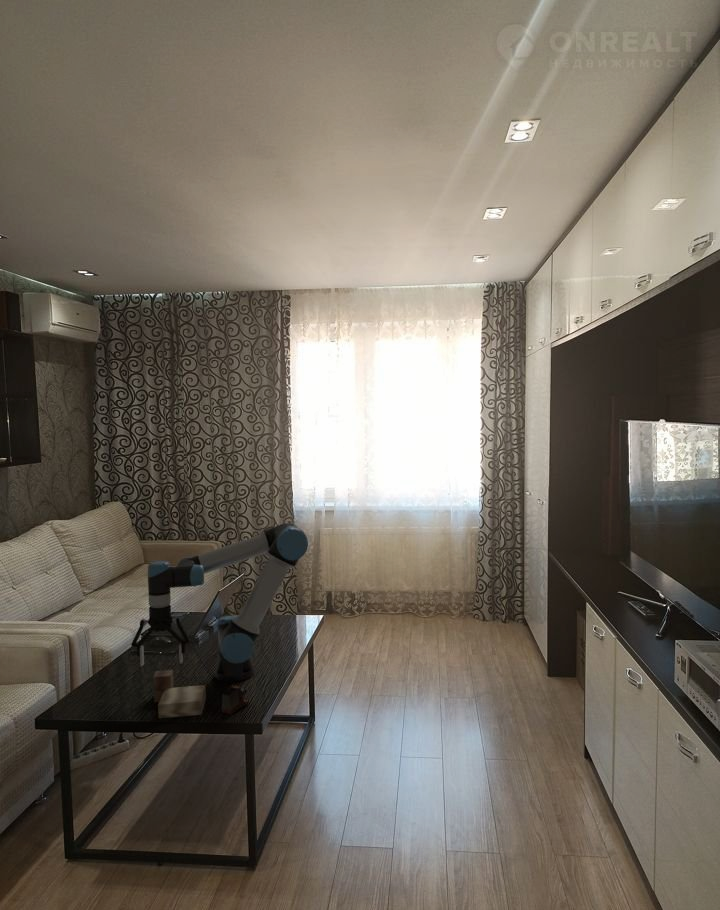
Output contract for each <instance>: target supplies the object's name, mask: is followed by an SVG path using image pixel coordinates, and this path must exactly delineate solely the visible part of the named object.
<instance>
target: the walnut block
mask: <svg viewBox="0 0 720 910" xmlns="http://www.w3.org/2000/svg"><path fill="white" fill-rule="evenodd" d="M152 680H153V696H154V697H153V699H154V700H153V701H154V703H159V701H160V699H161V697H162V695H163V693H164V690H165V688H175V686H174V670H173V669H165V670H156V671H155V672H154V674H153V678H152Z"/></svg>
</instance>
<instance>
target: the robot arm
mask: <svg viewBox="0 0 720 910" xmlns="http://www.w3.org/2000/svg"><path fill="white" fill-rule="evenodd" d="M308 547H309V540H308V537H307V535H306V533H305V532H304V530H303V529H301V528H300V527H298V526H297V525H296V524H293V523H290V522H289V523H282V524H281V523H280V524H278V525H275V526H273V527H270V528H268V529H266V530H262V531H261V532H260V534H258V535H255V536H252V537H249V538H246V539H244V540H241V541H240V540H239V541H237V542H235V543H231V544H227V545H226V546H222V547H219V548H217V549H214V550H210V551H207V552H204V553H201V554H198V555H196V556H193V557H187V556H186V557H183V558H182V559H180V560H179V562H178V563H177V565H176V566H171V565H170V562H169V561H168V560H167V561H166V560H157V561H153V562H150V563H149V564H148V566H147V585H148V586H147V588H148V589H147V590H148V606H149V607H148V614H149V615H148V619H145V618H141V620H140V621H139V627H138V628H137V632H136V634H135V635H134V638H133V640H132V642H131V647H135V648H136V656H137V657H139V661H140V662H139V663H140V664H139V666H140V667H143V666H144V665H145V654H144V653H145V650H144V649H145V647H144V645H143V644H144V642H145V641H146V640H147V639H148V638H149V636H150V635H151V634H152V633H153V631H154V632H155V633H157V632H166V631H167V632H168V633H169V634H170V635H172V637H174V639H175V640H177V642H178V643H179V645H178V654H179V655H178V657H179V664H181V665H182V664H183V661H184V657H183V655H184V654H186V651H187V650H186V645H187V644H189V643H190V641H191V638H190V635H189V634H188V632H187V630H186V628H185V627H184V625H183V623H182V619H181V616H177V617H174V618H173V617H172V606H171V603H172V600H171V599H172V597H171V596H172V595H171V589H175V588H187V587H189V588H190V587H197V586H202V585H204V583H205V574H207V573H211V572H213V571H216V570H220V569H222V568H226V567H229V566H231V565H232V566H233V565H235V564H238V563H241V562H244V561H246V560H249V559H252V558H255V557H258V556H262V555H264V554H267V556H268V560H267V561H266V563H265V565H264V567H263V568H262V571H261V572H260V574H259V576H258V579H257V580H256V582H255V584H254V586H253V588H252V590H250V591H251V592H249V595H248V597H247V599H246V601H245V602H244V604H243V606H242V607H241V610H240V612H239V614H236V615H235V614H234V615H226V616H222V617H220V618H218V619H217V625H216V627H217V639H218V640H217V645H218V647H217V648H218V659H217V662H216V666H215V670H214V678H215V680H218V681H220V682H224V683H226V682H227V683H229V682H230V683H232V682H240V681H245V680H247V679H250V678H252V677H253V676H254V675H255V665H254V664H253V663H254V662H253V660H252V658H251V657H252V655H253V653H254V649H255V645H254V644H255V642H256V641H257V639H258V637H259V635H260V633H261V631H260V627H259V626H260V625H261V622H262V621H263V619H264V617H265V615H266V613H267V612H268V610H269V608H270V606H271V604H272V602H273V600H274V598H275V596H276V594H277V593H278V591H279V590H280V589H279V588H280V587H281V585H282V583H283V582H284V580H285V577H286V575H287V574H288V573H289V572H288V571H289V570H290V569H293V568H295V567H296V565H297V564H298V562H299V560H300V559H301V558H302V557H303V556H304V555H306V552H308ZM172 623H174V624H175V625H176V626H177V628H178V630H179V632H180V633H181V634H179V632H178V631H176V629H175V628H174V626H173V625H172ZM146 625H149V627H150V628H149V629H148V630H147V632H145V634H144V635H143V637H142V638H141V639H140V636H141V634H142V632H143V629H144V627H145V626H146ZM139 639H140V640H139ZM138 640H139V642H138Z"/></svg>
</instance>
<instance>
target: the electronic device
mask: <svg viewBox="0 0 720 910" xmlns="http://www.w3.org/2000/svg"><path fill="white" fill-rule="evenodd" d="M246 693H247V689H246V688H245V687H243V688H242V687H240V686H237V685H232V686H231V687H229V688H228V689H227V690H225V691H224V692H222V695H221V696H222V697H221V713H224V714H227V715H232V714H234V713H236V712H238V710H240V709H242V708H243V707H245V706H249V703H250V702H251V701H250V700H247V699H244V696H245V695H246Z"/></svg>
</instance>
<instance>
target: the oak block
mask: <svg viewBox="0 0 720 910" xmlns="http://www.w3.org/2000/svg"><path fill="white" fill-rule="evenodd" d="M206 699H207V687H206V684H201V685H189V686H179V687H178V686H176V687H174V688H165V690H164V693H163V695H162V697H161V699H160V701H159V702H158V704H157V711H158V719H165V718H177V717H189V716H190V717H191V716H200V715H202V714H203V710H204V707H205V704H206Z"/></svg>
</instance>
